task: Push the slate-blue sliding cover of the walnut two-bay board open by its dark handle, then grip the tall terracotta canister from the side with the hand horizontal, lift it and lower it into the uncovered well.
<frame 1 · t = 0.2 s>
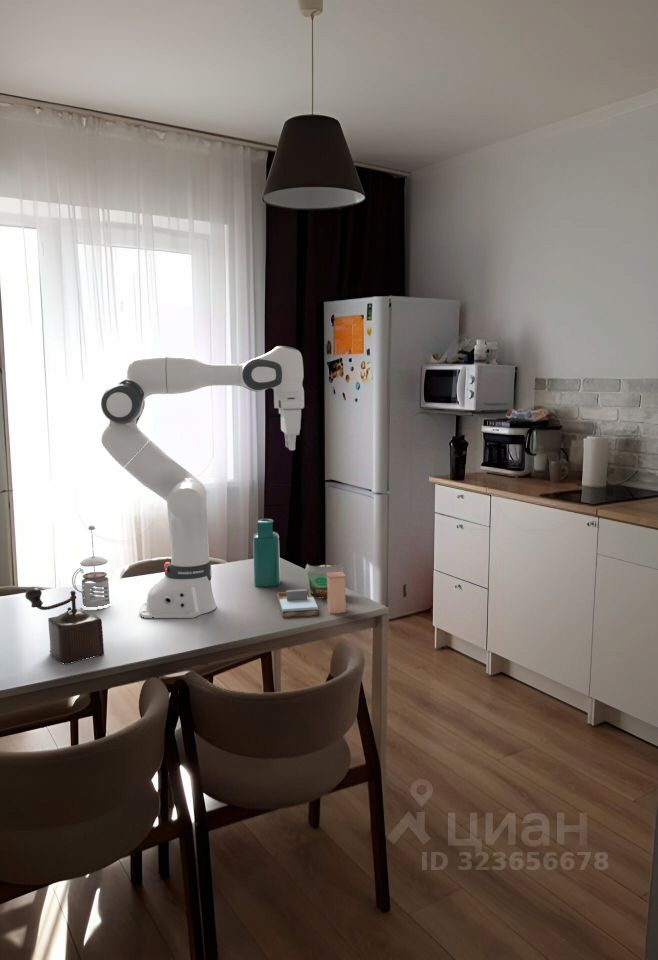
hand: (290, 448, 219), 47 cm above the table, tool pointing down, fingers open, 8 cm apart
manual coffee grinder: (66, 657, 184), on the table
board: (298, 610, 216), on the table
cover: (298, 599, 216), point 3 cm above the table, slide at 0.0 cm
french press: (93, 606, 225), on the table
canister: (336, 610, 216), on the table
green bottle: (267, 584, 246), on the table
food container: (325, 597, 231), on the table
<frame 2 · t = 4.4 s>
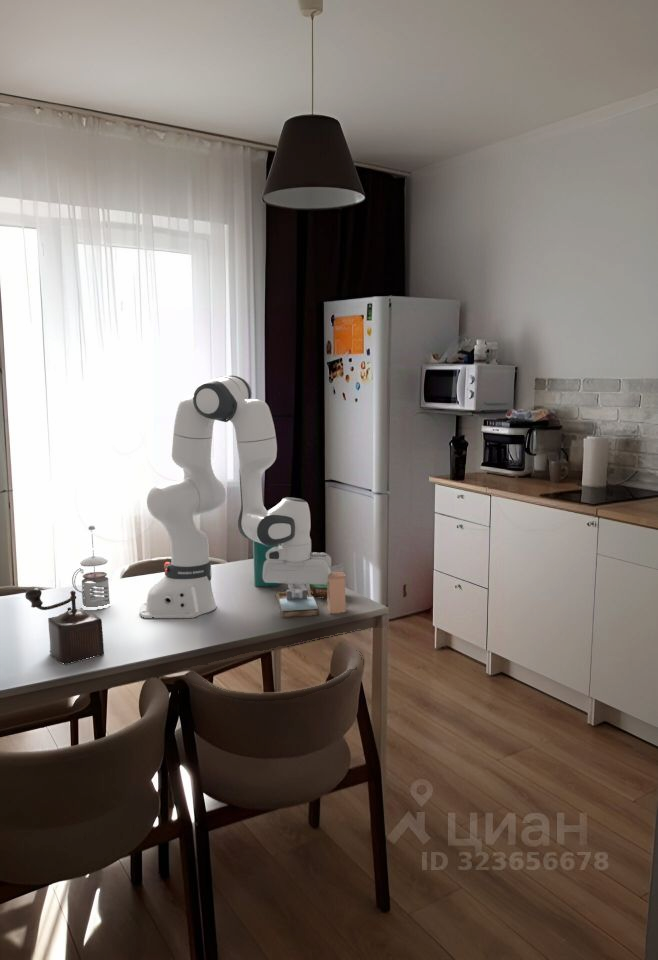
hand: (297, 597, 218), 3 cm above the table, tool pointing down, fingers closed
cover: (298, 599, 216), point 3 cm above the table, slide at 0.4 cm, touching gripper
everything else where it was.
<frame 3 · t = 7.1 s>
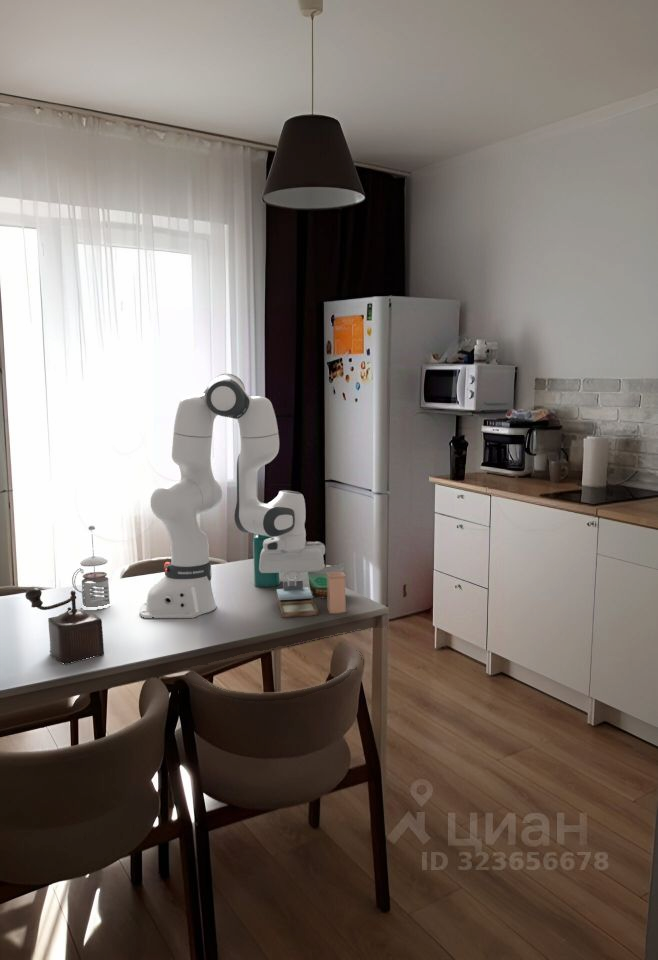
hand: (291, 585, 228), 4 cm above the table, tool pointing down, fingers closed
cover: (294, 589, 227), point 3 cm above the table, slide at 11.1 cm, touching gripper
everything else where it was.
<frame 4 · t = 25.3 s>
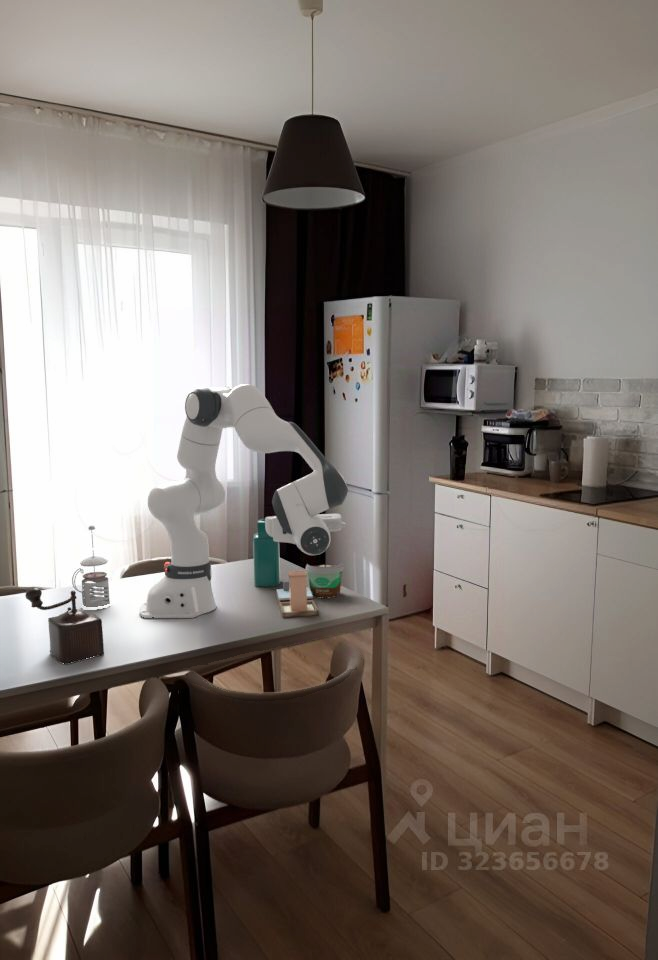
hand: (300, 518, 200), 30 cm above the table, tool horizontal, fingers open, 8 cm apart
cover: (294, 589, 227), point 3 cm above the table, slide at 11.0 cm
canister: (298, 609, 216), resting on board
everything else where it was.
at the end: cover slide at 11.0 cm; canister inside the target area (0.1 cm from its centre), point 0.5 cm above the table; canister tilted 0° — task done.
